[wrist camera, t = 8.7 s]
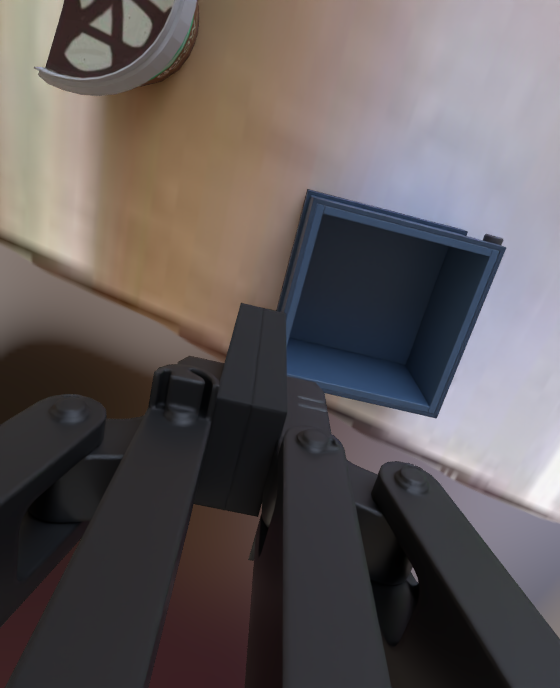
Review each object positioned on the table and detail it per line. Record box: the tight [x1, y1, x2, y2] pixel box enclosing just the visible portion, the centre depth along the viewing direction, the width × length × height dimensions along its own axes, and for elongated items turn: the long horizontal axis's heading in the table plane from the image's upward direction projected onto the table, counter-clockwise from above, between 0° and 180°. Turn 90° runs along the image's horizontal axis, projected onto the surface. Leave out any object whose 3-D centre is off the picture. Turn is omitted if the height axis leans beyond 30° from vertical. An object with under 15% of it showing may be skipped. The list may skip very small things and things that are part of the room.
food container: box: [34, 0, 199, 96], centre depth 30 cm, size 12×6×10 cm, turn 153°
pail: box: [276, 189, 506, 418], centre depth 37 cm, size 13×8×13 cm
